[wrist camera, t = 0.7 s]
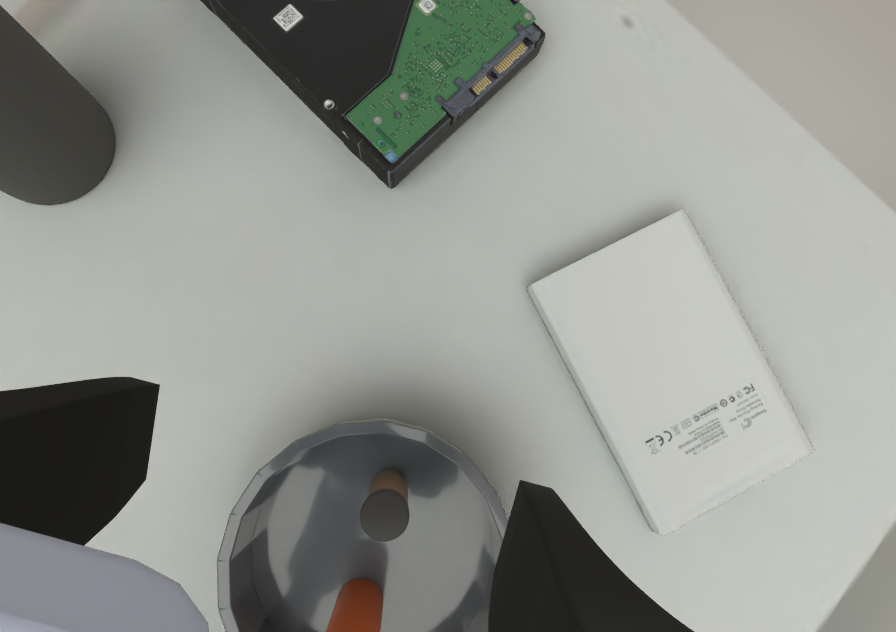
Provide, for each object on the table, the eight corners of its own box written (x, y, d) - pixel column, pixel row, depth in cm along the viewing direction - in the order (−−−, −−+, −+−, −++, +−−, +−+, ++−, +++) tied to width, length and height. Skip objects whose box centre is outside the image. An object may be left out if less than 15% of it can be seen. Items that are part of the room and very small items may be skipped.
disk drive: (176, -16, 32) (393, 196, 32) (154, -55, 30) (391, 176, 29) (330, -147, 34) (543, 52, 33) (323, -196, 31) (555, 20, 30)
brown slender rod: (402, 510, 30) (402, 547, 22) (366, 501, 30) (354, 535, 22) (411, 473, 30) (414, 497, 22) (376, 464, 30) (367, 485, 22)
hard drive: (672, 215, 33) (799, 447, 31) (523, 289, 32) (649, 531, 31) (686, 206, 31) (820, 450, 30) (530, 283, 30) (663, 538, 29)
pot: (467, 712, 29) (477, 761, 25) (209, 651, 29) (178, 691, 25) (527, 452, 31) (545, 460, 27) (283, 391, 30) (265, 390, 26)
